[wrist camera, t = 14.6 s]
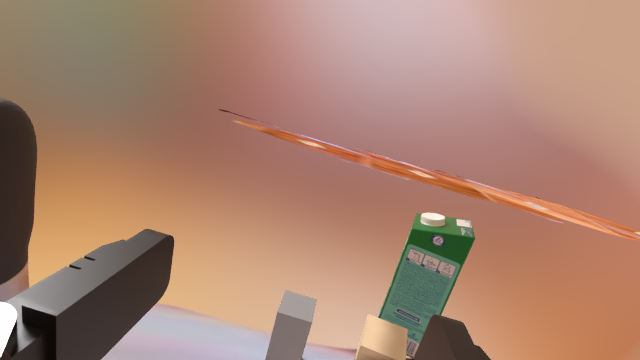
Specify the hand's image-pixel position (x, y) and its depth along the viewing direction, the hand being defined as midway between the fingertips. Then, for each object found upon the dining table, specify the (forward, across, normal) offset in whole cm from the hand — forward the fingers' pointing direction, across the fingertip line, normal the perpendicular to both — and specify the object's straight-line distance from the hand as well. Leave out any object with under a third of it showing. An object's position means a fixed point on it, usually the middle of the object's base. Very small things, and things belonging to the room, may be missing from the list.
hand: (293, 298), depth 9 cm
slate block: (+28, 0, +34) cm, 44 cm away
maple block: (+22, -11, +29) cm, 38 cm away
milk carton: (+42, -20, +34) cm, 58 cm away
